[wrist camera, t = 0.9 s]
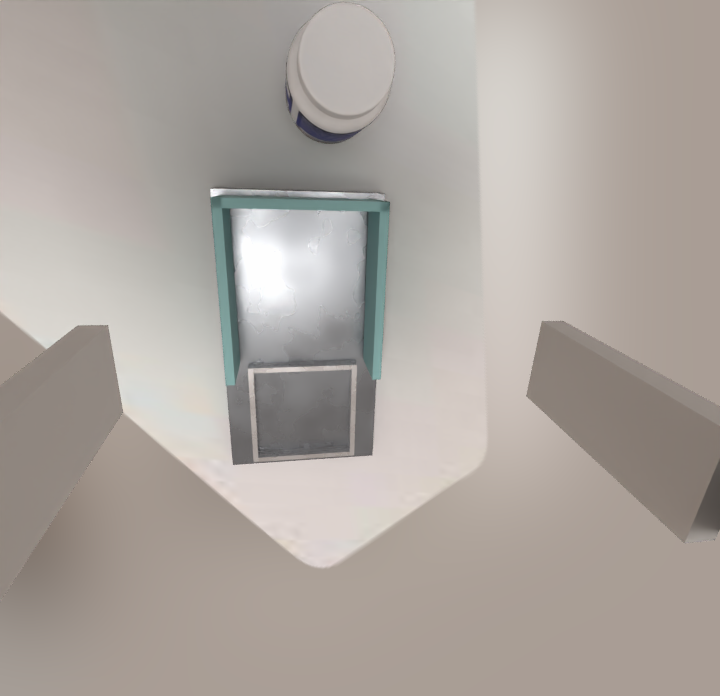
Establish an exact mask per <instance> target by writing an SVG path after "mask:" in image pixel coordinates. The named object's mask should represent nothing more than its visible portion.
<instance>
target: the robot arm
mask: <svg viewBox="0 0 720 696" xmlns="http://www.w3.org/2000/svg"><path fill="white" fill-rule="evenodd" d="M526 396H527V397H528V398H529V399H530V400H531V401H532V402H533V403H534V404H535V405H536V406H538V407H539V408H540V409H541V410H542V411H543V412H544V413H545V414H546V415H547V416H548V417H549V418H550V419H551V420H553V421H554V422H555V423H556V424H557V425H558V426H559V427H560V428H561V429H562V430H563V431H564V432H566V433H567V434H568V435H569V436H570V437H571V438H572V439H573V440H574V441H575V442H576V443H577V444H578V445H579V446H580V447H581V448H583V449H584V450H585V451H586V452H587V453H588V454H589V455H590V456H591V457H592V458H593V459H594V460H596V462H598V463H599V464H600V465H601V466H602V467H603V468H604V469H605V470H606V471H607V472H608V473H609V474H611V475H612V476H613V477H614V478H615V479H616V480H617V481H618V482H619V483H620V484H621V485H622V486H623V487H624V488H626V489H627V490H628V491H629V492H630V493H631V494H632V495H633V496H634V497H635V498H636V499H637V500H638V501H639V502H640V503H642V504H643V505H644V506H645V507H646V508H647V509H648V510H649V511H650V512H651V513H652V514H653V515H655V516H656V517H657V518H658V519H659V520H660V521H661V522H662V523H663V524H664V525H665V526H666V527H667V528H668V529H669V530H670V531H672V532H673V533H674V534H675V535H676V536H677V537H678V538H679V539H680V540H681V541H682V542H683V543H693V542H702V541H711V540H715V539H716V537H717V534H718V532H719V530H720V406H718V405H716V404H715V403H713V402H711V401H709V400H707V399H705V398H704V397H702V396H700V395H698V394H696V393H695V392H693V391H691V390H689V389H687V388H685V387H683V386H682V385H680V384H678V383H676V382H674V381H672V380H670V379H669V378H667V377H665V376H663V375H661V374H659V373H658V372H656V371H654V370H652V369H650V368H649V367H647V366H645V365H643V364H641V363H639V362H638V361H636V360H634V359H632V358H630V357H628V356H626V355H625V354H623V353H621V352H619V351H617V350H615V349H614V348H612V347H610V346H608V345H606V344H604V343H603V342H601V341H599V340H597V339H595V338H593V337H592V336H590V335H588V334H586V333H584V332H582V331H581V330H578V329H577V328H575V327H573V326H571V325H569V324H567V323H566V322H564V321H542V323H541V328H540V333H539V338H538V343H537V348H536V352H535V357H534V362H533V367H532V371H531V376H530V381H529V386H528V391H527V395H526ZM122 413H123V409H122V403H121V397H120V392H119V386H118V380H117V374H116V369H115V363H114V357H113V352H112V346H111V340H110V335H109V329H108V325H88V326H77V327H75V328H74V329H73V330H71V331H70V332H69V333H67V334H66V335H65V336H64V337H62V338H61V339H60V340H58V341H57V342H56V343H55V344H53V345H52V346H51V347H49V348H48V349H47V350H45V351H44V352H43V353H42V354H40V355H39V356H38V357H36V358H35V359H34V360H33V361H32V362H30V363H29V364H27V365H26V366H25V367H24V368H22V369H21V370H20V371H18V372H17V373H16V374H14V375H13V376H12V377H11V378H9V379H8V380H7V381H6V382H4V383H3V384H2V385H0V601H1V600H2V598H3V597H4V595H5V594H6V592H7V591H8V589H9V587H10V586H11V584H12V583H13V581H14V580H15V578H16V576H17V575H18V574H19V572H20V571H21V569H22V568H23V566H24V564H25V563H26V561H27V560H28V558H29V557H30V555H31V553H32V552H33V551H34V549H35V547H36V546H37V544H38V543H39V541H40V540H41V538H42V537H43V535H44V534H45V532H46V530H47V529H48V527H49V526H50V524H51V523H52V521H53V520H54V518H55V517H56V515H57V513H58V512H59V510H60V509H61V507H62V506H63V504H64V503H65V501H66V500H67V498H68V497H69V495H70V493H71V492H72V490H73V489H74V487H75V486H76V484H77V483H78V481H79V480H80V478H81V476H82V475H83V473H84V472H85V470H86V469H87V467H88V466H89V464H90V463H91V461H92V460H93V458H94V456H95V455H96V453H97V452H98V450H99V449H100V447H101V445H102V444H103V443H104V441H105V439H106V438H107V436H108V435H109V433H110V432H111V430H112V429H113V427H114V425H115V424H116V422H117V421H118V419H119V418H120V416H121V415H122Z"/></svg>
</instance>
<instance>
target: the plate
mask: <svg viewBox="0 0 720 696" xmlns="http://www.w3.org/2000/svg"><path fill="white" fill-rule="evenodd" d="M210 191H211V197H214V196H218V195H232V196H269V197H305V198H342V199H377V200H382V201H385V194H384V193H358V192H325V191H291V190H257V189H224V188H210ZM230 222H231V236H232V251H233V265H234V280H235V294H236V309H237V323H238V338H239V352H240V366H239V370H238V375H237V379H236V383H235V385H228V386H227V398H228V410H229V422H230V434H231V446H232V458H233V465H237V464H252V463H266V462H281V461H296V460H310V459H325V458H339V457H354V456H369V455H372V451H373V430H374V409H375V388H376V380H372V378H371V375H370V373H369V371H368V369H367V367H366V364H365V362H364V360H363V348H364V321H365V293H366V265H367V238H368V212H367V211H323V210H279V209H235V208H230Z"/></svg>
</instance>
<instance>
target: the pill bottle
mask: <svg viewBox="0 0 720 696" xmlns="http://www.w3.org/2000/svg"><path fill="white" fill-rule="evenodd" d="M394 71H395V52H394V47H393V43H392V39H391V37H390V35H389V33H388V31H387V29H386V27H385V26H384V24H383V23H382V21H381V20H380V19H379V18H378V17H377V16H376V15H375V14H374V13H373V12H371V11H370V10H368V9H367V8H365V7H363V6H361V5H358V4H354V3H349V2H339V3H335V4H331V5H328V6H326V7H324V8H322V9H321V10H320V11H318V12H317V13H316V14H315V15H314V16H313V17H312V18H311V19H310V20H309V21H307V22H306V23H305V24H304V25H303V26H302V27H301V28H300V30H299V31H298V33H297V34H296V36H295V37H294V39H293V41H292V44H291V46H290V49H289V53H288V57H287V63H286V102H287V106H288V110H289V113H290V115H291V117H292V119H293V121H294V123H295V124H296V125H297V127H298V128H299V129H300V130H301V131H302V132H303V133H304V134H305V135H307V136H308V137H309V138H311V139H313V140H315V141H318V142H321V143H328V144H333V143H339V142H342V141H345V140H347V139H349V138H351V137H353V136H354V135H355V134H357V133H358V132H359V131H361V130H362V129H363V128H365V127H366V126H368V125H369V124H371V123H372V122H373V121H374V120H375V119H376V117H377V116H378V115H379V114H380V112H381V111H382V109H383V108H384V106H385V104H386V102H387V99H388V96H389V93H390V89H391V83H392V80H393V77H394Z"/></svg>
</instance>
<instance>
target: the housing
mask: <svg viewBox="0 0 720 696" xmlns="http://www.w3.org/2000/svg"><path fill="white" fill-rule="evenodd" d="M210 198H211V210H212V222H213V234H214V247H215V259H216V271H217V283H218V295H219V307H220V319H221V331H222V343H223V355H224V367H225V379H226V386H228V385H235V383H236V379H237V375H238V370H239V366H240V352H239V338H238V323H237V309H236V294H235V280H234V265H233V251H232V236H231V222H230V208H235V209H279V210H323V211H367V212H368V238H367V265H366V293H365V321H364V348H363V360H364V362H365V364H366V367H367V369H368V371H369V373H370V375H371V378H372V380H377V379H381V362H382V342H383V323H384V304H385V285H386V266H387V246H388V227H389V208H390V202H387V201H382V200H377V199H342V198H305V197H269V196H232V195H218V196H214V197H210Z"/></svg>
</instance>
